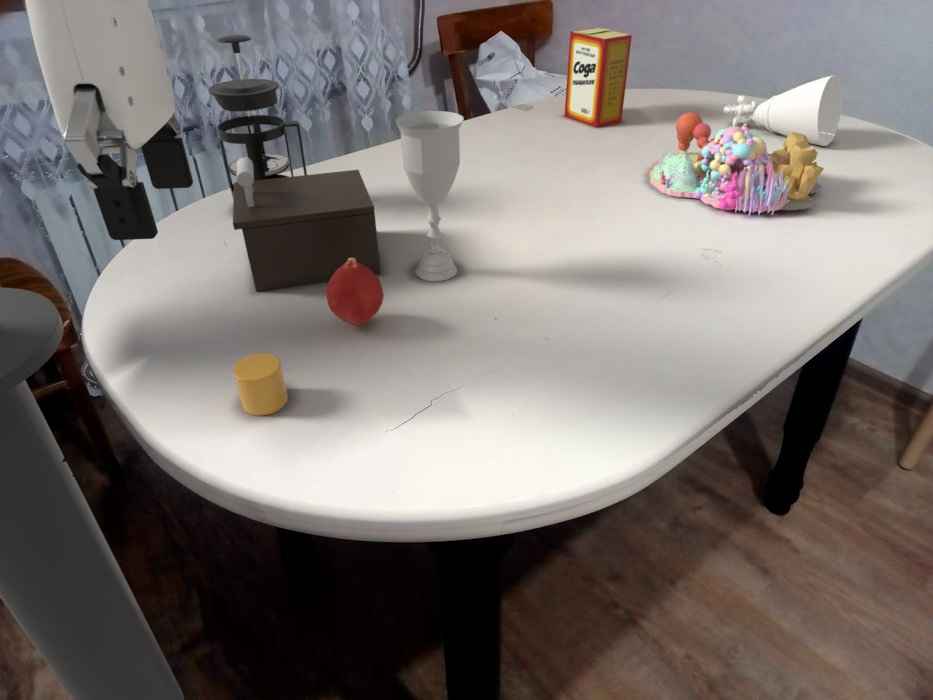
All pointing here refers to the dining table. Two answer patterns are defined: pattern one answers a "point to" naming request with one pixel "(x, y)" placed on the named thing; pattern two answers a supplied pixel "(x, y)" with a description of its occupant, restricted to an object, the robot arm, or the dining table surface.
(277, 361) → the pod
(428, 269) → the chalice
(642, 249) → the dining table surface
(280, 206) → the wooden box lid
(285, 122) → the french press
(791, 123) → the rocket engine
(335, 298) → the red fruit
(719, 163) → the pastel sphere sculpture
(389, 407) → the dining table surface
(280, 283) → the dark brown wooden crate
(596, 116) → the baking soda box
